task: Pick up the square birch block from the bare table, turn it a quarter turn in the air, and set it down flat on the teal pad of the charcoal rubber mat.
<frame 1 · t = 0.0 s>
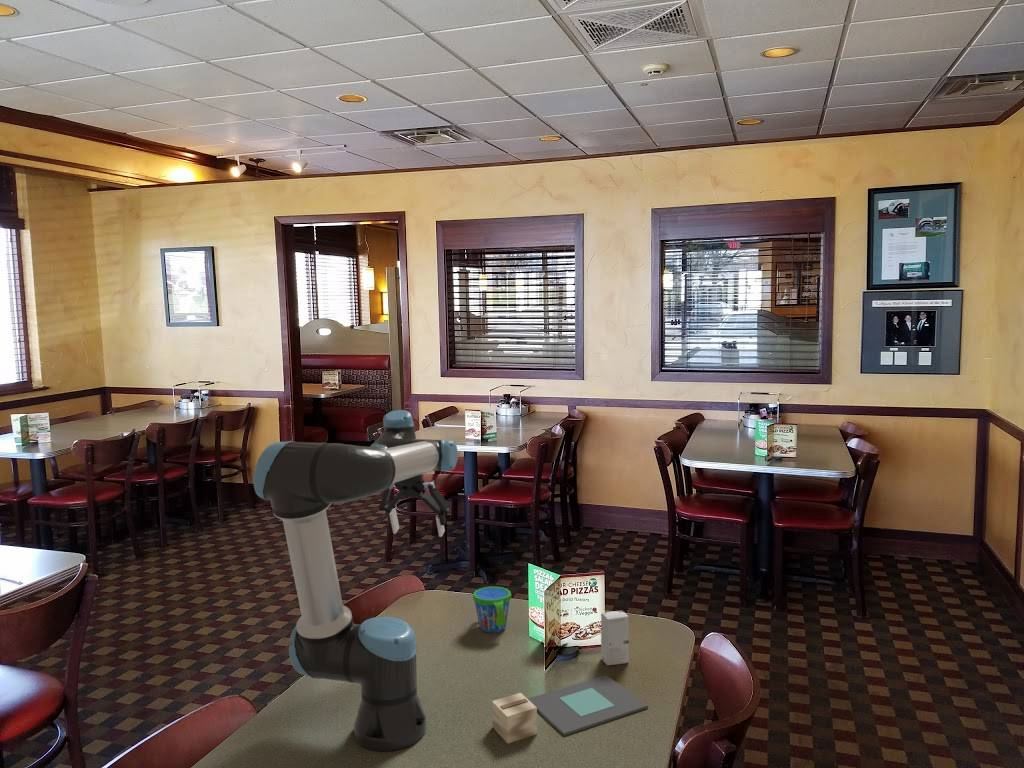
hand: (419, 532, 207), 28 cm above the table, tool tilted 20°, fingers open, 13 cm apart
birch block: (514, 731, 159), on the table
skincare box: (615, 661, 189), on the table
rubber mat: (586, 704, 169), on the table
snack cup: (492, 628, 210), on the table
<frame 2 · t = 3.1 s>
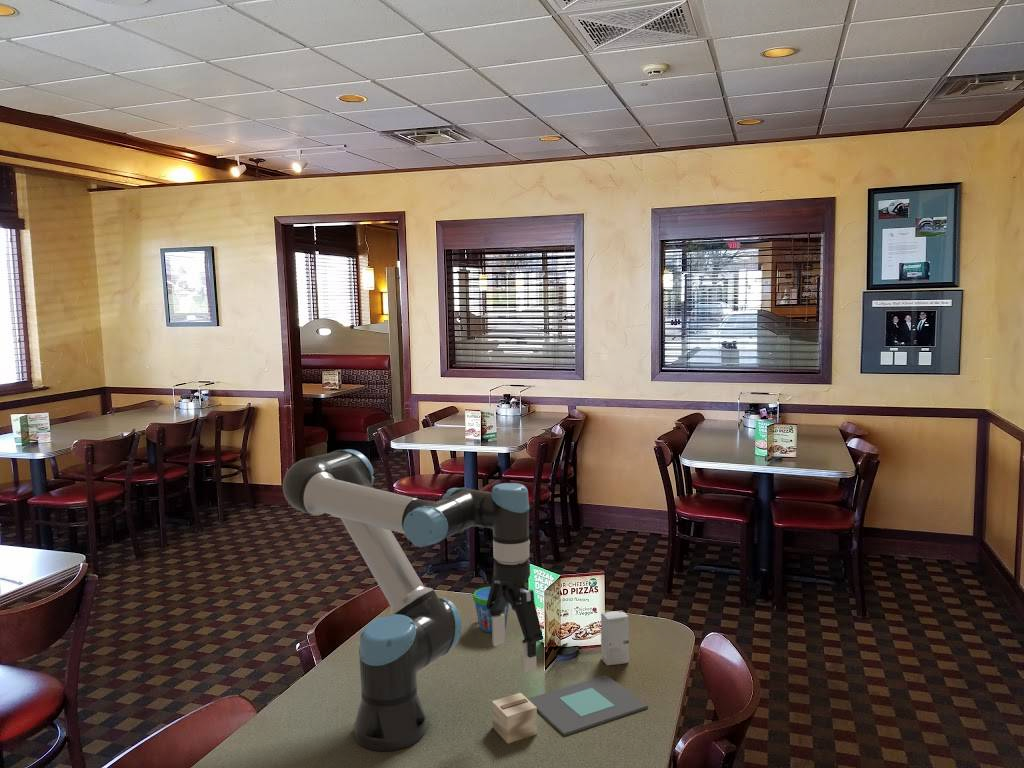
hand: (513, 657, 157), 16 cm above the table, tool pointing down, fingers open, 13 cm apart
nothing on the table moved.
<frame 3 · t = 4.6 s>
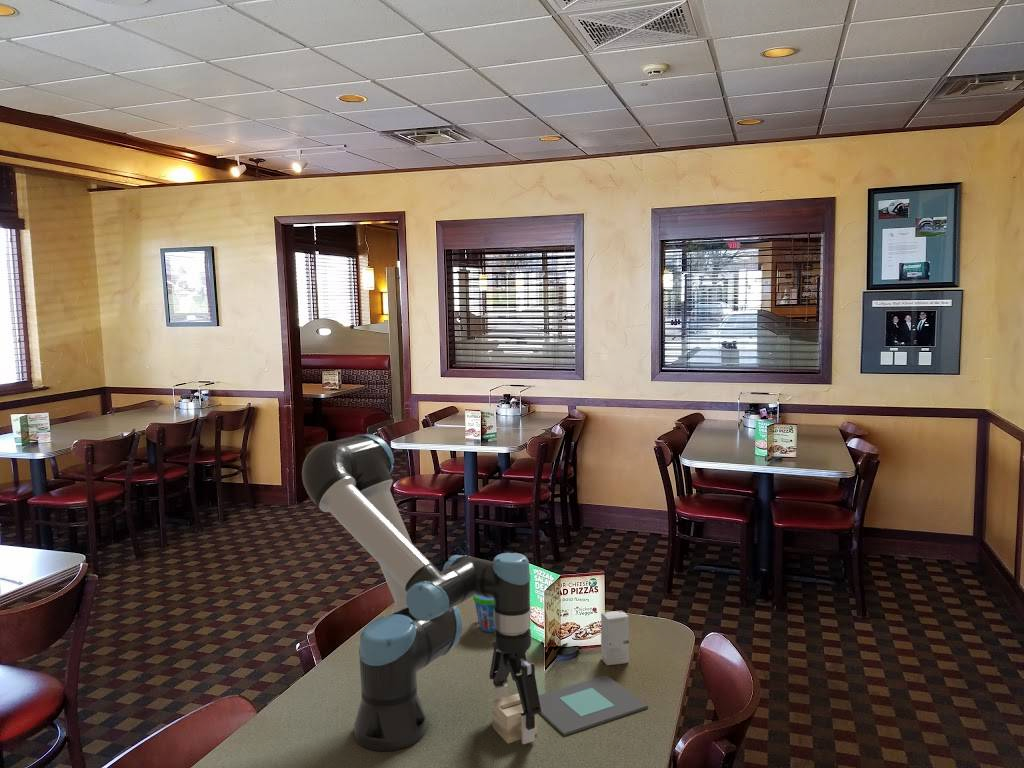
hand: (514, 727, 159), 1 cm above the table, tool pointing down, fingers open, 11 cm apart
nothing on the table moved.
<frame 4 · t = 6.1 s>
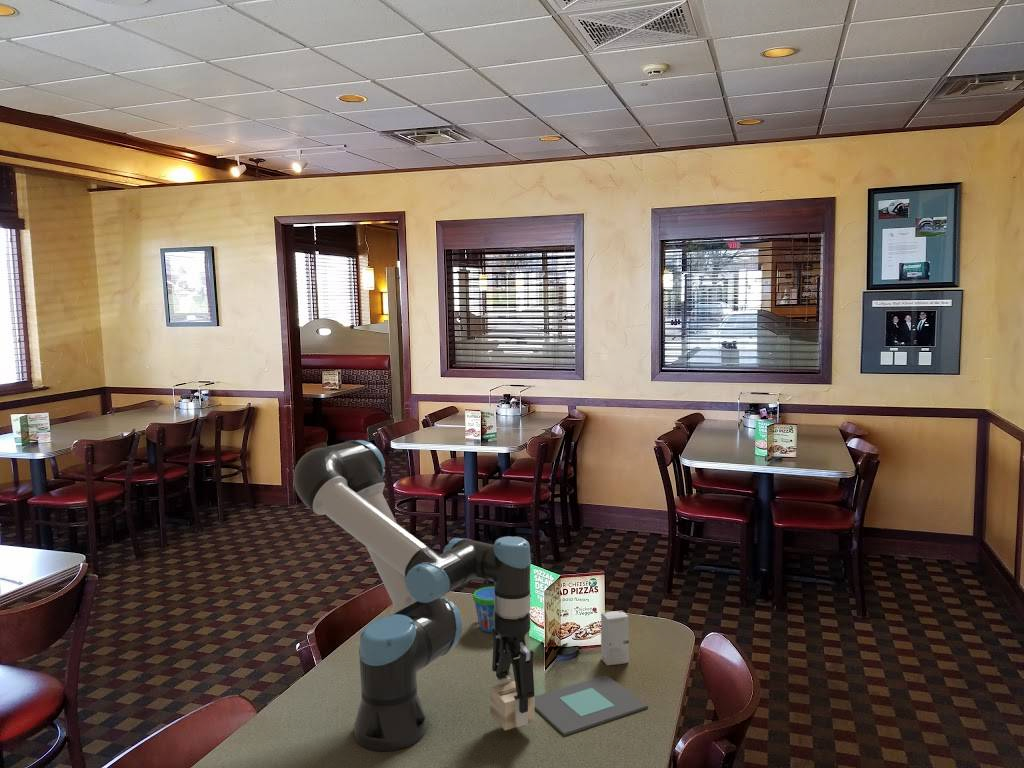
hand: (512, 715, 159), 3 cm above the table, tool pointing down, fingers closed on birch block, 7 cm apart
birch block: (512, 717, 159), point 3 cm above the table, touching gripper
everything else where it was.
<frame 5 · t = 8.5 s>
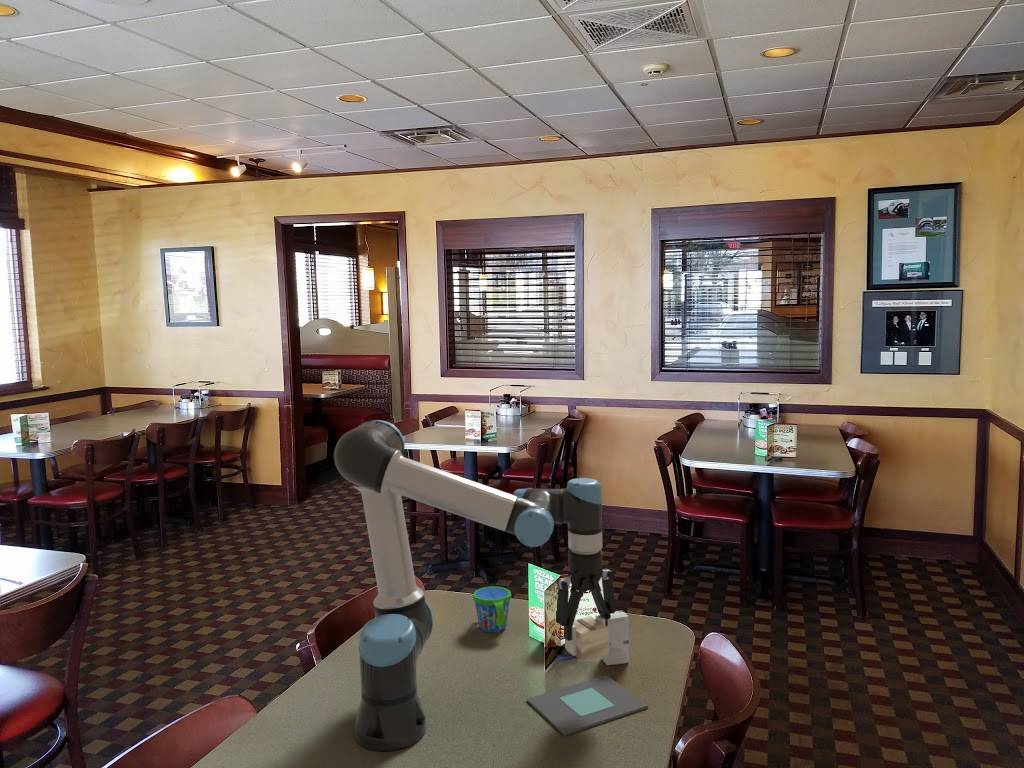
hand: (586, 648, 167), 13 cm above the table, tool pointing down, fingers closed on birch block, 7 cm apart
birch block: (586, 650, 167), point 13 cm above the table, touching gripper
everything else where it was.
when the fingers open (2 cm above the table, at t = 10.9 s): birch block stays where it is, resting on rubber mat.
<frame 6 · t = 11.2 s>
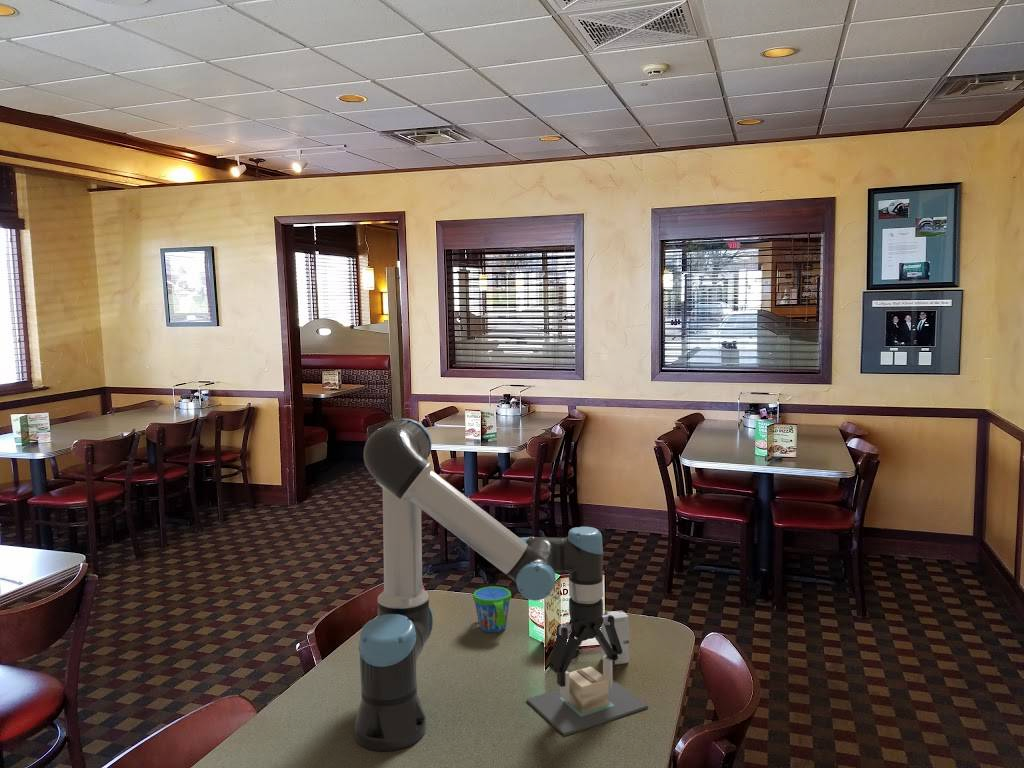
hand: (586, 692, 168), 3 cm above the table, tool pointing down, fingers open, 11 cm apart
birch block: (586, 701, 168), point 1 cm above the table, touching rubber mat
everything else where it was.
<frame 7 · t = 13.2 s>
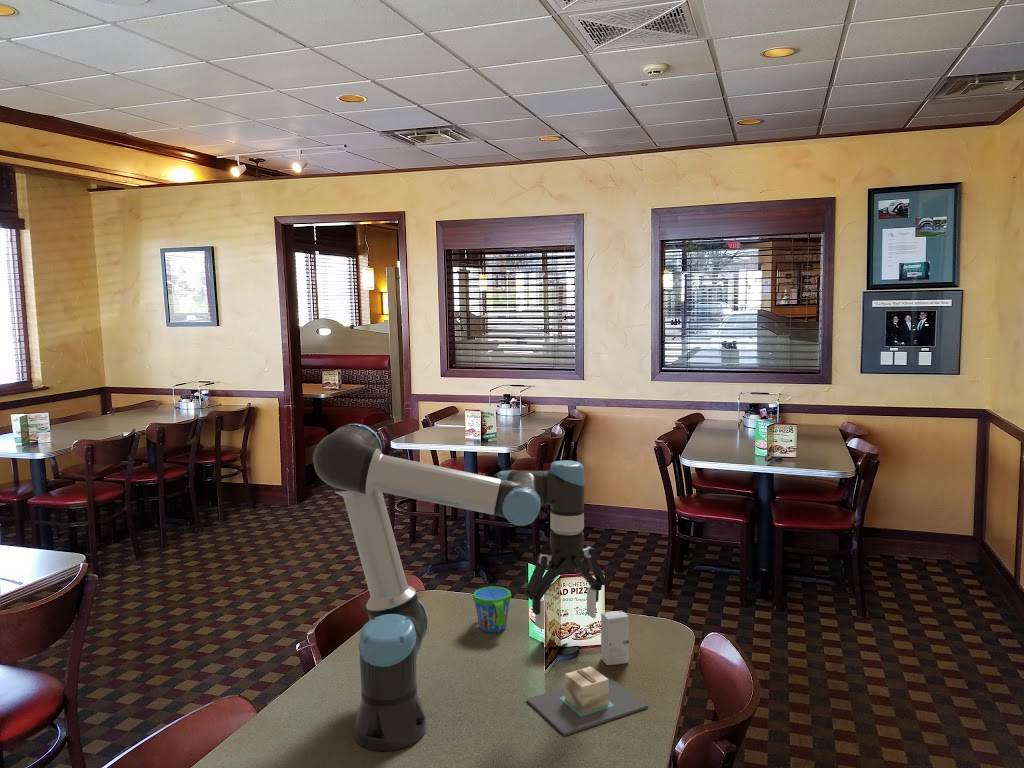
hand: (565, 621, 170), 18 cm above the table, tool pointing down, fingers open, 13 cm apart
nothing on the table moved.
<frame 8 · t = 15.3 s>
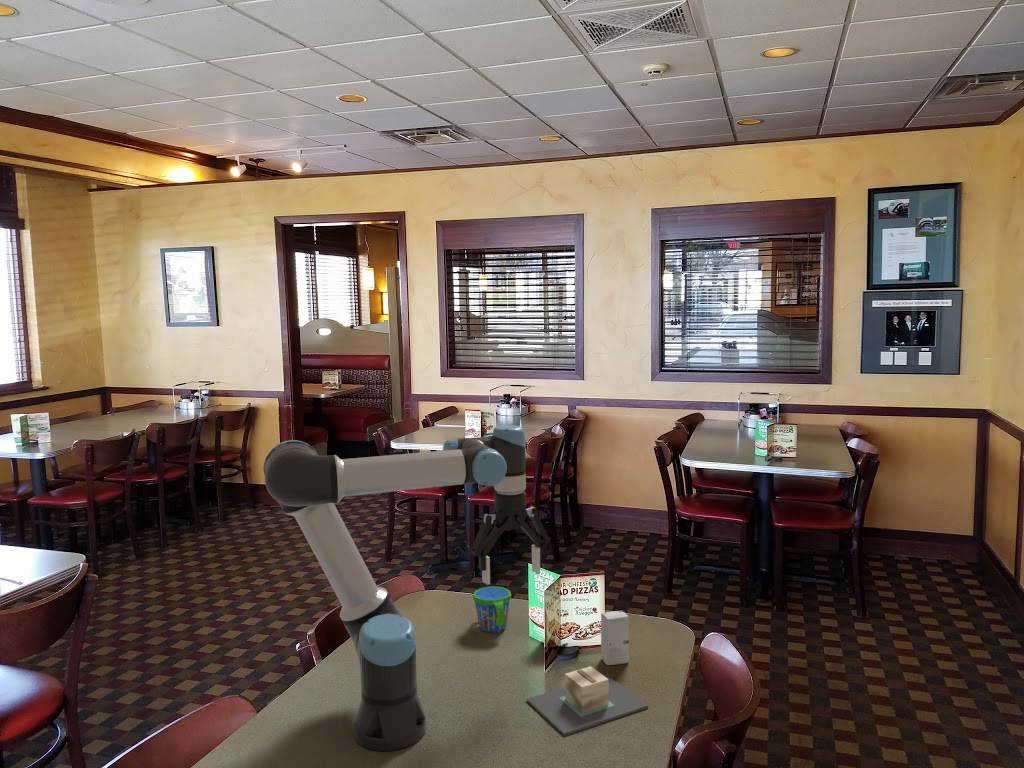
hand: (511, 577, 180), 25 cm above the table, tool pointing down, fingers open, 13 cm apart
nothing on the table moved.
at the end: birch block inside the target area (0.1 cm from its centre), point 0.7 cm above the table; birch block tilted 0°; the gripper is holding nothing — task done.
